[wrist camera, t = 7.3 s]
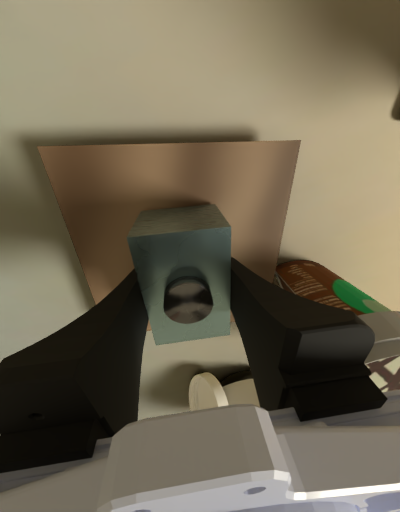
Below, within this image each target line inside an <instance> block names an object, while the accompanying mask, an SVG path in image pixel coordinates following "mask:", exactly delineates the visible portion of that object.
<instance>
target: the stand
mask: <svg viewBox="0 0 400 512" xmlns="http://www.w3.org/2000/svg"><path fill="white" fill-rule="evenodd" d="M300 142H301V140H291V141H248V142H205V143H161V144H118V145H75V146H37V148H38V150H39V153H40V156H41V158H42V161H43V164H44V167H45V169H46V172H47V175H48V177H49V180H50V183H51V185H52V188H53V191H54V193H55V196H56V199H57V202H58V204H59V207H60V210H61V212H62V215H63V218H64V220H65V223H66V226H67V228H68V231H69V234H70V236H71V239H72V242H73V245H74V247H75V250H76V253H77V255H78V258H79V261H80V263H81V266H82V269H83V271H84V274H85V277H86V280H87V282H88V285H89V288H90V290H91V293H92V296H93V298H94V301H95V304H96V305H97V304H98V303H99V302H100V301H101V300H103V299H104V298H105V297H106V296H107V295H108V294H109V293H110V292H111V291H112V290H114V289H115V288H116V287H117V286H118V285H119V284H120V283H121V282H122V281H123V280H124V279H125V278H126V276H127V275H128V274H129V273H130V272H131V271H132V270H133V269H134V268H135V267H134V263H133V260H132V256H131V253H130V249H129V245H128V242H127V238H126V237H127V236H128V234H129V232H130V230H131V228H132V226H133V225H134V223H135V221H136V219H137V217H138V215H139V214H140V212H141V211H147V210H157V209H167V208H178V207H188V206H198V205H208V204H215V205H216V206H217V207H218V209H219V210H220V212H221V213H222V214H223V216H224V217H225V219H226V220H227V221H228V223H229V224H230V226H231V257H233V258H235V259H236V260H237V261H239V262H240V263H241V264H243V265H244V266H245V267H247V268H248V269H250V270H251V271H252V272H254V273H255V274H257V275H258V276H260V277H262V278H263V279H265V280H267V281H268V282H270V283H272V284H273V280H274V275H275V270H276V265H277V259H278V254H279V249H280V244H281V239H282V234H283V229H284V224H285V219H286V214H287V208H288V203H289V198H290V193H291V188H292V183H293V178H294V173H295V168H296V163H297V158H298V152H299V147H300ZM230 322H235V320H234V317H233V315H232V312H231V310H230ZM150 330H152V329H151V326H150V322H149V321H148V326H147V331H150Z"/></svg>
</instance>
